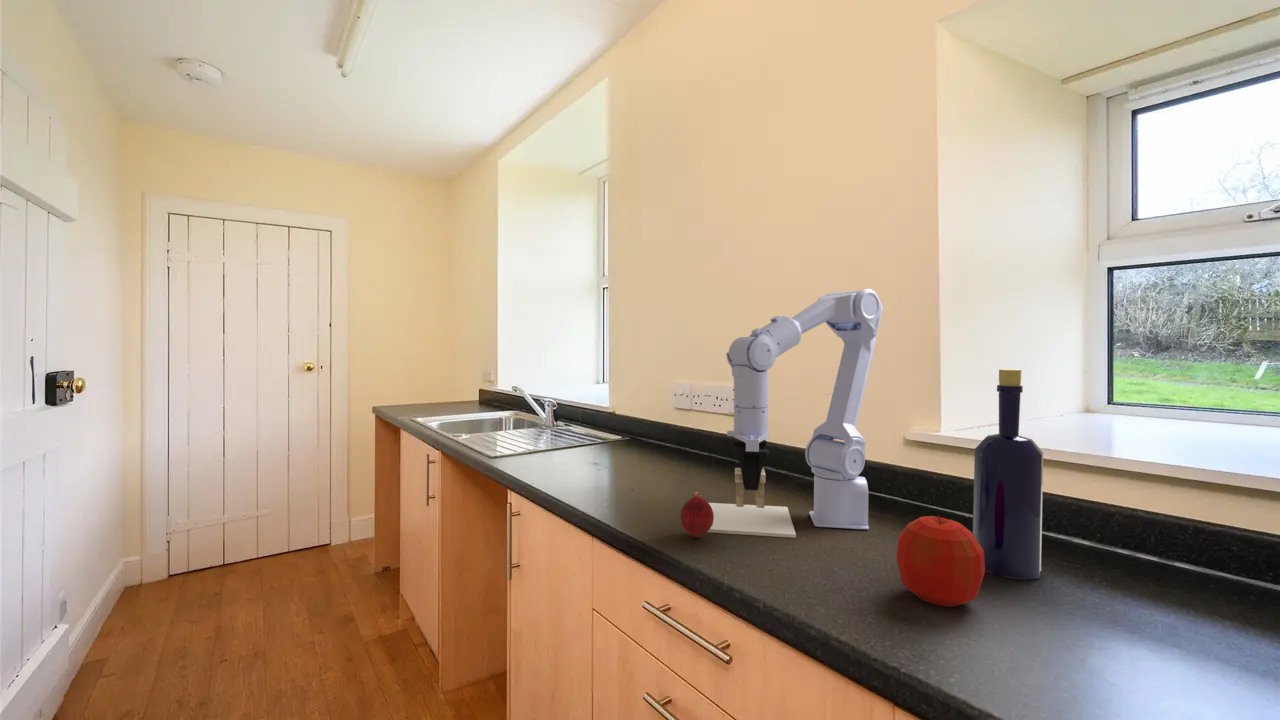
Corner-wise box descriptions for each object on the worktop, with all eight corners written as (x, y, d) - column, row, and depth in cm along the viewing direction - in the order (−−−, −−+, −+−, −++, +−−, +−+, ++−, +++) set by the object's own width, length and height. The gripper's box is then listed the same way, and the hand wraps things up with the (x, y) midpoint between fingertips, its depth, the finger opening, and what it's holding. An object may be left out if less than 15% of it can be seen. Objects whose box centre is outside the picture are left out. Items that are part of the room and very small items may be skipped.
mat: (787, 509, 109) (787, 506, 109) (795, 537, 93) (795, 534, 93) (708, 505, 112) (708, 502, 112) (703, 532, 96) (703, 528, 96)
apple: (898, 610, 68) (899, 520, 68) (892, 578, 77) (894, 499, 77) (992, 626, 64) (993, 530, 64) (974, 590, 73) (975, 507, 73)
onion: (712, 545, 90) (712, 498, 90) (678, 542, 91) (678, 496, 91) (714, 533, 95) (714, 488, 95) (682, 530, 97) (682, 487, 96)
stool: (763, 500, 94) (763, 468, 94) (765, 508, 89) (765, 474, 89) (734, 499, 95) (734, 467, 95) (735, 506, 90) (735, 473, 90)
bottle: (1030, 559, 84) (1035, 368, 83) (1054, 584, 75) (1059, 371, 74) (963, 552, 87) (967, 367, 86) (979, 575, 78) (983, 370, 77)
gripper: (727, 401, 99) (727, 473, 100) (726, 411, 85) (726, 496, 86) (766, 402, 98) (765, 475, 99) (772, 412, 84) (771, 497, 84)
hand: (750, 485), depth 92 cm, fingers closed on stool, 5 cm apart
